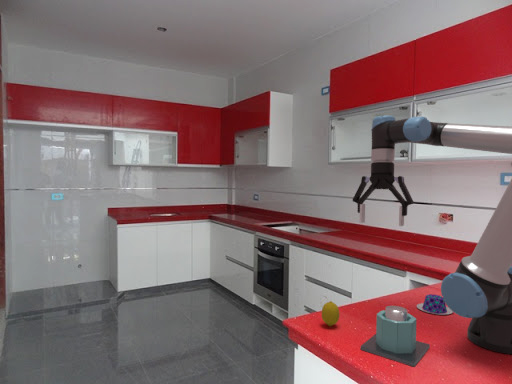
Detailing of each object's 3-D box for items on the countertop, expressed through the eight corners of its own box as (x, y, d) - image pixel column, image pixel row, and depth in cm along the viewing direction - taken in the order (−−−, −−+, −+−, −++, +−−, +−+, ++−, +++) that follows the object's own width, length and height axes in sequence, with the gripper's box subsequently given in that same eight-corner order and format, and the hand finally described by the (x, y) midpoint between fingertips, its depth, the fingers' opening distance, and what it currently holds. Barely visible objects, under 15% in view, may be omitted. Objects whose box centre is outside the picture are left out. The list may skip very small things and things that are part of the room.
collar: (403, 337, 104) (404, 310, 104) (421, 352, 94) (422, 322, 94) (371, 338, 103) (372, 310, 103) (386, 353, 93) (387, 323, 93)
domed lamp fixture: (429, 347, 100) (430, 308, 99) (414, 366, 89) (415, 322, 89) (379, 333, 109) (380, 297, 108) (360, 349, 98) (361, 309, 98)
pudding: (421, 314, 126) (421, 300, 126) (413, 303, 138) (413, 290, 138) (458, 317, 124) (458, 302, 124) (446, 306, 136) (447, 292, 136)
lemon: (317, 326, 114) (318, 301, 114) (327, 321, 118) (328, 297, 117) (332, 331, 110) (333, 305, 110) (342, 326, 114) (343, 301, 113)
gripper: (424, 161, 118) (422, 226, 118) (353, 163, 134) (351, 220, 134) (417, 160, 112) (416, 228, 112) (344, 162, 128) (342, 221, 128)
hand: (381, 224), depth 123 cm, fingers open, 13 cm apart
